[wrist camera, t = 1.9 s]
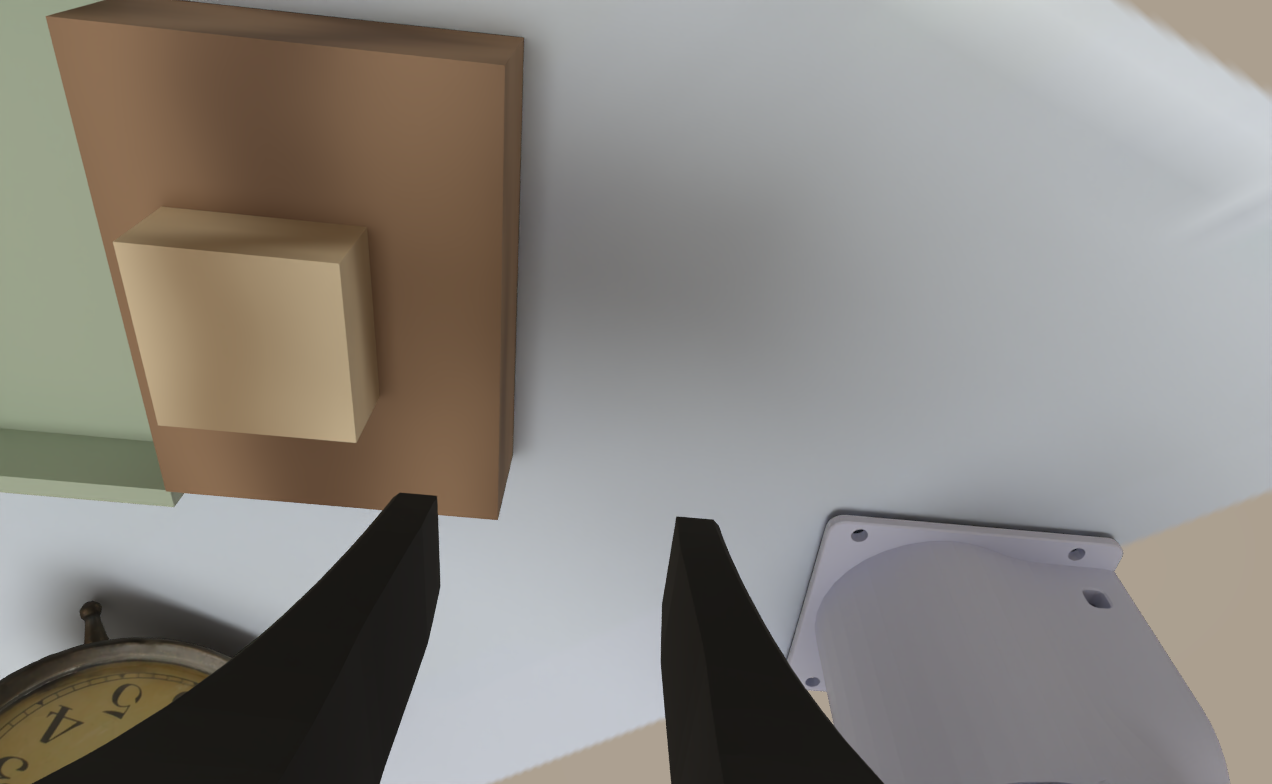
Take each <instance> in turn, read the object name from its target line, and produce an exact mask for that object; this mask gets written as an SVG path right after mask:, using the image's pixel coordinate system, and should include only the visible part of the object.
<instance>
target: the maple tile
mask: <svg viewBox="0 0 1272 784" xmlns="http://www.w3.org/2000/svg"><path fill="white" fill-rule="evenodd" d="M113 245H114V249H115V253H116V257H117V261H118V265H119V269H120V273H121V277H122V281H123V285H124V289H125V293H126V297H127V301H128V305H129V309H130V313H131V318H132V322H133V326H134V330H135V334H136V338H137V342H138V346H139V350H140V354H141V358H142V362H143V366H144V370H145V374H146V378H147V382H148V387H149V391H150V395H151V399H152V403H153V407H154V411H155V415H156V419H157V423H158V425H160V426H171V427H182V428H193V429H205V430H216V431H227V432H238V433H250V434H261V435H272V436H283V437H294V438H306V439H317V440H328V441H339V442H351V443H357V441H358V439H359V437H360V435H361V433H362V431H363V429H364V427H365V425H366V423H367V421H368V419H369V417H370V415H371V413H372V411H373V409H374V407H375V405H376V403H377V401H378V399H379V397H380V393H379V380H378V366H377V353H376V339H375V326H374V313H373V299H372V286H371V272H370V259H369V245H368V232H367V227H362V226H352V225H342V224H332V223H322V222H312V221H301V220H291V219H281V218H271V217H261V216H251V215H241V214H231V213H221V212H211V211H200V210H190V209H180V208H170V207H160V208H159V209H157V210H156V211H155V212H153V213H152V214H151V215H149V216H148V217H146V218H145V219H144V220H142V221H141V222H139V223H138V224H137V225H135V226H134V227H133V228H131V229H130V230H128V231H127V232H126V233H124V234H123V235H121V236H120V237H119V238H117V239H116V240H115V241H113Z"/></svg>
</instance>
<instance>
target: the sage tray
mask: <svg viewBox="0 0 1272 784" xmlns="http://www.w3.org/2000/svg"><path fill="white" fill-rule="evenodd" d="M100 1H103V0H0V492H4V493H15V494H27V495H39V496H50V497H62V498H74V499H86V500H97V501H109V502H121V503H133V504H144V505H156V506H168V507H175V505H176V504H177V502H178V501H179V500H180V498H181V497H182V496H183V494H184V493H178V492H167V491H166V490H165V486H164V482H163V478H162V474H161V470H160V466H159V462H158V458H157V454H156V451H155V447H154V443H153V439H152V435H151V431H150V427H149V423H148V419H147V415H146V411H145V407H144V403H143V399H142V395H141V391H140V387H139V383H138V380H137V376H136V372H135V368H134V364H133V360H132V356H131V352H130V348H129V344H128V340H127V336H126V332H125V328H124V324H123V320H122V316H121V312H120V308H119V305H118V301H117V297H116V293H115V289H114V285H113V281H112V277H111V273H110V269H109V265H108V261H107V257H106V253H105V249H104V245H103V241H102V237H101V234H100V230H99V226H98V222H97V218H96V214H95V210H94V206H93V202H92V198H91V194H90V190H89V186H88V182H87V178H86V174H85V170H84V166H83V162H82V159H81V155H80V151H79V147H78V143H77V139H76V135H75V131H74V127H73V123H72V119H71V115H70V111H69V107H68V103H67V99H66V95H65V91H64V88H63V84H62V80H61V76H60V72H59V68H58V64H57V60H56V56H55V52H54V48H53V44H52V40H51V36H50V32H49V28H48V24H47V20H46V16H48V15H52V14H55V13H59V12H63V11H66V10H70V9H74V8H77V7H81V6H85V5H88V4H92V3H96V2H100Z"/></svg>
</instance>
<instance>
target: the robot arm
mask: <svg viewBox="0 0 1272 784" xmlns="http://www.w3.org/2000/svg"><path fill="white" fill-rule="evenodd" d="M859 529H863V530H864V531H862V532H860V533H853V532H854V531H856V530H859ZM1077 548H1078V549H1077ZM1074 549H1077V550H1075V551H1073V552H1071V551H1072V550H1074ZM1122 556H1123V550H1122V548H1121V547H1120V545H1119V544H1118V542H1117V541H1115V540H1114V539H1111V538H1104V537H1092V536H1081V535H1070V534H1058V533H1047V532H1035V531H1024V530H1013V529H1001V528H990V527H978V526H967V525H956V524H944V523H933V522H921V521H910V520H898V519H887V518H876V517H864V516H853V515H839V516H836V517H833V518H832V519H831V520H829V522H828V523H827V525H826V528H825V532H824V535H823V539H822V542H821V545H820V549H819V552H818V556H817V559H816V563H815V566H814V570H813V573H812V577H811V580H810V583H809V587H808V590H807V594H806V597H805V601H804V604H803V608H802V611H801V615H800V618H799V621H798V625H797V628H796V632H795V635H794V639H793V642H792V646H791V649H790V653H789V656H788V660H786V658H785V657H784V655H783V653H782V652H781V650H780V649H779V647H778V646H777V644H776V642H775V641H774V639H773V637H772V636H771V634H770V632H769V630H768V629H767V627H766V625H765V624H764V622H763V620H762V618H761V616H760V614H759V612H758V611H757V609H756V607H755V605H754V603H753V601H752V600H751V598H750V596H749V594H748V592H747V590H746V588H745V586H744V584H743V582H742V580H741V578H740V576H739V574H738V571H737V569H736V567H735V565H734V563H733V561H732V558H731V556H730V554H729V551H728V549H727V547H726V544H725V542H724V539H723V536H722V534H721V531H720V528H719V526H718V524H717V523H716V522H715V521H714V520H711V519H699V518H688V517H676V523H675V529H674V535H673V541H672V547H671V553H670V559H669V566H668V572H667V578H666V584H665V590H664V596H663V602H662V627H661V671H662V683H663V695H664V707H665V718H666V729H667V739H668V752H669V763H670V774H671V784H1230V779H1229V774H1228V771H1227V766H1226V762H1225V758H1224V755H1223V753H1222V749H1221V746H1220V743H1219V741H1218V739H1217V736H1216V734H1215V732H1214V729H1213V728H1212V725H1211V723H1210V721H1209V719H1208V718H1207V716H1206V714H1205V713H1204V711H1203V709H1202V707H1201V706H1200V705H1199V703H1198V701H1197V700H1196V698H1195V697H1194V695H1193V693H1192V692H1191V690H1190V689H1189V687H1188V686H1187V684H1186V683H1185V681H1184V680H1183V678H1182V676H1181V675H1180V673H1179V672H1178V670H1177V669H1176V667H1175V665H1174V664H1173V662H1172V661H1171V659H1170V658H1169V656H1168V654H1167V653H1166V651H1165V650H1164V649H1163V647H1162V645H1161V644H1160V642H1159V641H1158V639H1157V637H1156V636H1155V634H1154V633H1153V631H1152V630H1151V628H1150V626H1149V625H1148V624H1147V622H1146V620H1145V619H1144V617H1143V616H1142V614H1141V613H1140V611H1139V609H1138V608H1137V607H1136V605H1135V603H1134V602H1133V600H1132V599H1131V597H1130V595H1129V594H1128V592H1127V591H1126V589H1125V587H1124V586H1123V584H1122V583H1121V581H1120V580H1119V578H1118V577H1117V575H1116V573H1115V572H1114V571H1115V569H1116V567H1117V566H1118V564H1119V562H1120V560H1121V558H1122ZM439 590H440V562H439V532H438V503H437V496H434V495H423V494H411V493H398V494H397V495H396V496H394V497H393V498H392V499H391V501H390V502H389V503H388V504H387V506H386V507H385V508H384V509H383V510H382V512H381V513H380V514H379V515H378V517H377V518H376V519H375V520H374V521H373V522H372V524H371V525H370V526H369V527H368V528H367V529H366V531H365V532H364V533H363V534H362V535H361V536H360V537H359V539H358V540H357V541H356V542H355V543H354V544H353V545H352V546H351V548H350V549H349V550H348V551H347V552H346V553H345V554H344V555H343V556H342V557H341V558H340V559H339V560H338V561H337V562H336V563H335V564H334V566H333V567H332V568H331V569H330V570H329V571H328V572H327V573H326V574H325V575H324V576H323V577H322V578H321V579H320V580H319V581H318V582H317V583H316V584H315V585H314V586H313V587H312V588H311V589H310V590H309V591H308V592H307V593H306V594H305V595H304V596H303V597H302V598H301V599H300V600H298V601H297V602H296V603H295V604H294V605H293V606H292V607H291V608H290V609H289V610H288V611H287V612H286V613H285V614H284V615H283V616H282V617H280V618H279V619H278V620H277V621H276V622H275V623H274V624H273V625H271V626H270V627H269V628H268V629H267V630H266V631H265V632H263V633H262V634H261V635H260V636H259V637H258V638H256V639H255V640H254V641H253V642H252V643H250V644H249V645H248V646H247V647H245V648H244V649H243V650H242V651H240V652H239V653H238V654H237V655H236V656H234V657H233V658H232V659H231V660H229V661H228V662H227V663H225V664H224V665H223V666H221V667H220V668H219V669H217V670H216V671H215V672H213V673H212V674H211V675H209V676H208V677H206V678H205V679H204V680H202V681H201V682H200V683H198V684H197V685H196V686H194V687H193V688H192V689H190V690H189V691H187V692H186V693H184V694H183V695H182V696H180V697H179V698H177V699H176V700H174V701H173V702H171V703H170V704H168V705H167V706H165V707H164V708H162V709H161V710H159V711H158V712H156V713H155V714H153V715H151V716H150V717H148V718H147V719H145V720H143V721H142V722H140V723H139V724H137V725H135V726H134V727H132V728H131V729H129V730H127V731H126V732H124V733H123V734H121V735H119V736H118V737H116V738H114V739H113V740H111V741H109V742H108V743H106V744H104V745H103V746H101V747H99V748H97V749H96V750H94V751H92V752H90V753H89V754H87V755H85V756H83V757H81V758H79V759H78V760H76V761H74V762H72V763H70V764H68V765H66V766H64V767H62V768H60V769H59V770H57V771H55V772H53V773H51V774H49V775H47V776H45V777H43V778H41V779H40V780H38V781H36V782H34V783H32V784H380V781H381V778H382V774H383V771H384V768H385V765H386V762H387V759H388V756H389V753H390V751H391V748H392V745H393V742H394V739H395V736H396V734H397V731H398V728H399V725H400V722H401V719H402V716H403V714H404V711H405V708H406V705H407V702H408V699H409V696H410V694H411V691H412V688H413V685H414V682H415V679H416V676H417V673H418V671H419V668H420V665H421V662H422V659H423V656H424V653H425V650H426V647H427V644H428V640H429V636H430V631H431V627H432V623H433V618H434V614H435V609H436V604H437V600H438V595H439ZM810 677H813V678H810ZM807 690H814V691H826V692H827V694H828V699H829V704H830V708H831V713H832V718H833V723H834V725H833V724H832V723H831V722H830V720H829V719H828V718H827V717H826V715H825V714H824V713H823V711H822V710H821V709H820V707H819V706H818V705H817V703H816V702H815V701H814V699H813V698H812V697H811V695H810V694H809V692H808V691H807Z"/></svg>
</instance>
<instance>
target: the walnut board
mask: <svg viewBox="0 0 1272 784" xmlns="http://www.w3.org/2000/svg"><path fill="white" fill-rule="evenodd" d="M46 20H47V24H48V28H49V32H50V36H51V40H52V44H53V48H54V52H55V56H56V60H57V64H58V68H59V72H60V76H61V80H62V84H63V88H64V91H65V95H66V99H67V103H68V107H69V111H70V115H71V119H72V123H73V127H74V131H75V135H76V139H77V143H78V147H79V151H80V155H81V159H82V162H83V166H84V170H85V174H86V178H87V182H88V186H89V190H90V194H91V198H92V202H93V206H94V210H95V214H96V218H97V222H98V226H99V230H100V234H101V237H102V241H103V245H104V249H105V253H106V257H107V261H108V265H109V269H110V273H111V277H112V281H113V285H114V289H115V293H116V297H117V301H118V305H119V308H120V312H121V316H122V320H123V324H124V328H125V332H126V336H127V340H128V344H129V348H130V352H131V356H132V360H133V364H134V368H135V372H136V376H137V380H138V383H139V387H140V391H141V395H142V399H143V403H144V407H145V411H146V415H147V419H148V423H149V427H150V431H151V435H152V439H153V443H154V447H155V451H156V454H157V458H158V462H159V466H160V470H161V474H162V478H163V482H164V486H165V490H166V491H167V492H178V493H190V494H202V495H213V496H225V497H236V498H248V499H260V500H271V501H283V502H295V503H306V504H318V505H329V506H341V507H353V508H364V509H376V510H383V509H384V508H385V507H386V506H387V504H388V503H389V502H390V501H391V499H392V498H393V497H394V496H396V495H397V494H398V493H411V494H423V495H434V496H437V503H438V515H446V516H457V517H469V518H481V519H492V520H498V517H499V512H500V508H501V504H502V499H503V495H504V491H505V486H506V482H507V478H508V473H509V469H510V465H511V461H512V456H513V429H514V392H515V354H516V317H517V279H518V242H519V205H520V167H521V130H522V93H523V55H524V38H522V37H513V36H503V35H494V34H485V33H476V32H467V31H457V30H448V29H439V28H430V27H420V26H411V25H402V24H393V23H384V22H374V21H365V20H356V19H347V18H338V17H328V16H319V15H310V14H301V13H291V12H282V11H273V10H264V9H255V8H245V7H236V6H227V5H218V4H208V3H199V2H190V1H181V0H103V1H100V2H96V3H92V4H88V5H85V6H81V7H77V8H74V9H70V10H66V11H63V12H59V13H55V14H52V15H48V16H46ZM160 207H170V208H180V209H190V210H200V211H211V212H221V213H231V214H241V215H251V216H261V217H271V218H281V219H291V220H301V221H312V222H322V223H332V224H342V225H352V226H362V227H367V232H368V245H369V259H370V272H371V286H372V299H373V313H374V326H375V339H376V353H377V366H378V380H379V393H380V397H379V399H378V401H377V403H376V405H375V407H374V409H373V411H372V413H371V415H370V417H369V419H368V421H367V423H366V425H365V427H364V429H363V431H362V433H361V435H360V437H359V439H358V441H357V443H351V442H339V441H328V440H317V439H306V438H294V437H283V436H272V435H261V434H250V433H238V432H227V431H216V430H205V429H193V428H182V427H171V426H160V425H158V423H157V419H156V415H155V411H154V407H153V403H152V399H151V395H150V391H149V387H148V382H147V378H146V374H145V370H144V366H143V362H142V358H141V354H140V350H139V346H138V342H137V338H136V334H135V330H134V326H133V322H132V318H131V313H130V309H129V305H128V301H127V297H126V293H125V289H124V285H123V281H122V277H121V273H120V269H119V265H118V261H117V257H116V253H115V249H114V245H113V241H115V240H116V239H117V238H119V237H120V236H121V235H123V234H124V233H126V232H127V231H128V230H130V229H131V228H133V227H134V226H135V225H137V224H138V223H139V222H141V221H142V220H144V219H145V218H146V217H148V216H149V215H151V214H152V213H153V212H155V211H156V210H157V209H159V208H160Z"/></svg>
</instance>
